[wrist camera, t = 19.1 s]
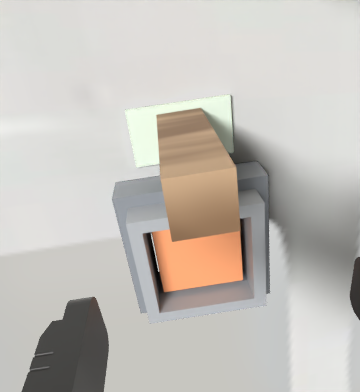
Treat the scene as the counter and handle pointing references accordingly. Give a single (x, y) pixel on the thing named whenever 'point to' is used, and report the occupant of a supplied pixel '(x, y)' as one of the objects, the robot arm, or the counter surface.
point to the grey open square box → (157, 221)
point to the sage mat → (146, 116)
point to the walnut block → (196, 177)
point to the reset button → (198, 260)
